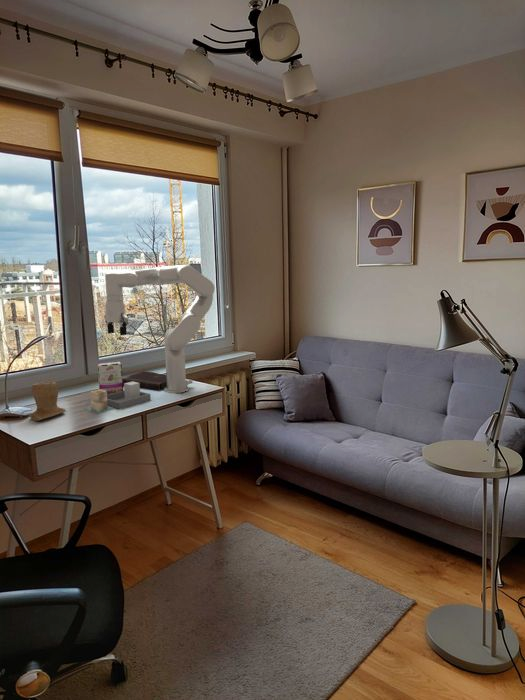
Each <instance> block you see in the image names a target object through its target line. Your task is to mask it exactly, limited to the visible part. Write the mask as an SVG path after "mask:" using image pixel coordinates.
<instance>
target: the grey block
mask: <svg viewBox="0 0 525 700" xmlns="http://www.w3.org/2000/svg"><path fill="white" fill-rule="evenodd" d="M123 391H124V393H125V400H128V399H132V398H136V397H139V396H140V391H141V388H140V386H139V383H137V382H133V381H132V382H128V383H124V386H123Z"/></svg>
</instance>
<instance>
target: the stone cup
mask: <svg viewBox="0 0 525 700" xmlns="http://www.w3.org/2000/svg"><path fill="white" fill-rule="evenodd" d="M31 395H32V396H33V399H34V401H35V406H36V409H35V411H33V412H31V413H29V414H28V417H29V418H30V419H31V420H32V421H34V422H38V421H42V420H43V421H44V420H45V419H49V418H52V417H55V416H58V415H60V414H63V413H65V412H66V411H67V410H66V409H65V408H61V407H59V406H58V397H59V388H58V384H57V382H56V381H42V382H37V383H33V384H32V386H31Z"/></svg>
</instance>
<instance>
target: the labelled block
mask: <svg viewBox="0 0 525 700" xmlns="http://www.w3.org/2000/svg"><path fill="white" fill-rule="evenodd" d="M89 393H90V394H89V395H90V396H89V397H90V408H91V409H92V410H96V411H101V410H104V409H108V407H109V406H108V404H107V391H104V390H100V389H99V388H98V389H95V390H92V391H89Z"/></svg>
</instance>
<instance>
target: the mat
mask: <svg viewBox="0 0 525 700" xmlns="http://www.w3.org/2000/svg"><path fill="white" fill-rule="evenodd" d="M84 410H86V411H89V412H93V413H95V414H97V415H98V414H102V413H105V412H108V411H112V410H114V408H113V407H110V406H108V409H104V410H101V411H96V410H92V409H91V407H88V408H84Z"/></svg>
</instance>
